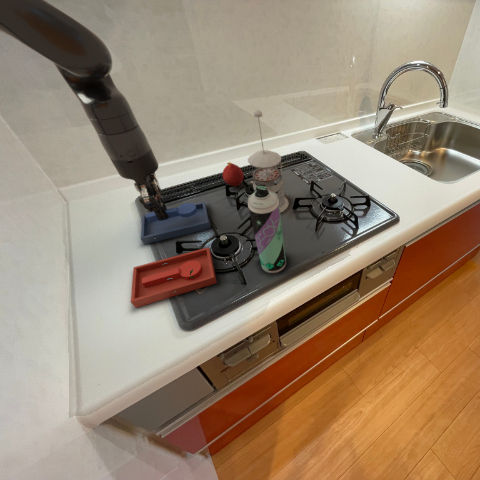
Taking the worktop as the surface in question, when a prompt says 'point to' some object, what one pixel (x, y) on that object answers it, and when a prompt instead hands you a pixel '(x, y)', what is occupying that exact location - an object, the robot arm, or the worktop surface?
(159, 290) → the red tray
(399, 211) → the worktop surface
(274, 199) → the spray can
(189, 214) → the blue spoon
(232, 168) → the onion
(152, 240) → the blue tray
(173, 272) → the red spoon
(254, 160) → the french press
